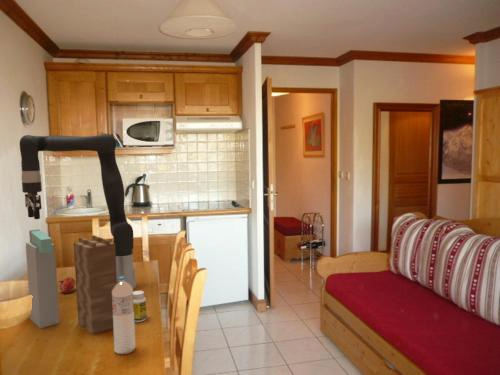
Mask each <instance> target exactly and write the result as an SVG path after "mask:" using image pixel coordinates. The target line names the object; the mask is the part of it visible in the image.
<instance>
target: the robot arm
mask: <svg viewBox="0 0 500 375" xmlns="http://www.w3.org/2000/svg"><path fill="white" fill-rule="evenodd" d="M117 145H118V142H117V139H116V138H115V136H114V135H112V134H110V133H101V134H97V135H90V136H89V135H88V136H87V135H86V136H76V135H75V136H74V135H45V136H44V135H31V134H27V135H24V136H21V138H20V140H19V150H20V157H21V162H20V164H21V166H20V167H21V187H22V188H21V189H22V193H24V200H25V201H24V203H25V208H26V209H27V218H33V219H34V220H40V219H41V213H40V211H41V209H42V199H41V198H42V197H41V196H42V195H41V194H38V193H41V192H42V191H43V186H42V174H41V167H40V166H41V165H40V164H41V163H40V158H39V152H73V151H74V152H76V151H78V152H79V151H90V152H96V154H97V156H98V159H99V164H100V165H99V166H100V175H101V176H100V177H101V185H102V190H103V194H104V195H103V196H104V198H105V202H106V206H107V207H106V208H107V209H108V216H109V226H110V227H109V229H110V234H111V236H112V239H113V243H114V244H115V252H116V273H117V283H118V282H119V277H121V276H124V277H125V280H124V281H126V282H127V283H129V284H130V285H131V286H132V288H133V290H135V289H136V288H137V283H136V282H137V281H136V269H135V268H134V257H133V256H134V252H133V251H134V229H133V226H132V224H130V223H128V220H127V216H126V213H125V212H126V211H125V200H126V198H125V197H126V196H125V187H124V181H123V179H122V178H123V177H122V175H121V172H120V169H119V166H118V164H117V159H116V158H117V157H116V149H117Z"/></svg>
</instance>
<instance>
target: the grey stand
mask: <svg viewBox="0 0 500 375" xmlns="http://www.w3.org/2000/svg"><path fill="white" fill-rule="evenodd" d="M25 252H26V269H27V271H26V272H27V283H28V284H27V288H28V296H29V295H32V296H33V298H32V310H31V314H30V320H31V322H33V324H35V325H36V327H38V328H39V329H43V328H47V327H51V326H55V325H58V324H60V310H59V308H60V307H59V293H58V292H59V291H58V279H57V277H58V276H57V261H56V248H55V244H54V243H52V252H48V253H41V252H40V251H38V247H36V246H34V245H32V244H31V243H30V242H25Z"/></svg>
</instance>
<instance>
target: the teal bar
mask: <svg viewBox="0 0 500 375" xmlns="http://www.w3.org/2000/svg"><path fill="white" fill-rule="evenodd" d="M28 233H29V243H30V244H32V245H34V246H36V247H38V251H40V252H41V253H48V252H52V244H53V242H52V241H53V240H52V238H51V237H50V236H49V235H48V234H46V233H45V232H43V231H42V230H41V229H33V230H32V229H31V230H30V229H29V232H28Z"/></svg>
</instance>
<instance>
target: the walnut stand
mask: <svg viewBox="0 0 500 375" xmlns="http://www.w3.org/2000/svg"><path fill="white" fill-rule="evenodd" d="M91 238H92V239H87V238H83V237H78V241H76V242H73V251H74V252H73V253H74V254H73V255H74V269H75V271H74V272H75V290H76V291H75V292H76V307H77V308H76V309H77V322H78V325H79V326H81V327H82V328H84V329H85V330H86V331H88V332H89V334H91V335H97V334H100V333H103V332H106V331H109V330H113V306H112V294H111V291H112V289H113V287H114V286H115V285H116V284H117V273H116V252H115V244H114V242H111V239H110V240H109V239H106V238H104V237H101V236H97V235H91Z"/></svg>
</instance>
